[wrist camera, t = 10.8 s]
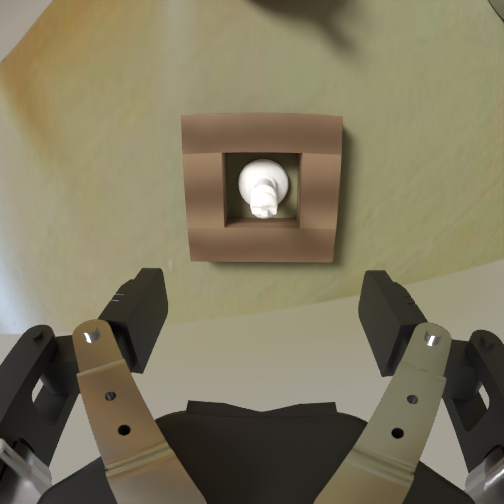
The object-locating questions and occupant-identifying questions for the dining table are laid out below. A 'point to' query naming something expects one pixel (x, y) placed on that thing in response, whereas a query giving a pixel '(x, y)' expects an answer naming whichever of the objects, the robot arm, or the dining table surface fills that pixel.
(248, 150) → the socket block
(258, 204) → the chess piece
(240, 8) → the dining table surface
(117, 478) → the robot arm
